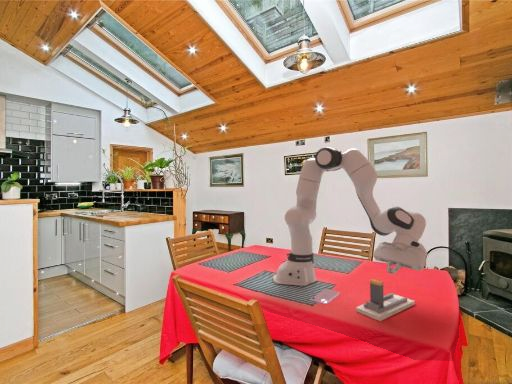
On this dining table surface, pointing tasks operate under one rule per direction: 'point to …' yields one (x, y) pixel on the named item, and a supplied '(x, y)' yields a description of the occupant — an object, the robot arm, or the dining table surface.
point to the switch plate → (385, 307)
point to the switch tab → (376, 292)
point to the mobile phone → (325, 296)
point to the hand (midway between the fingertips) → (390, 272)
